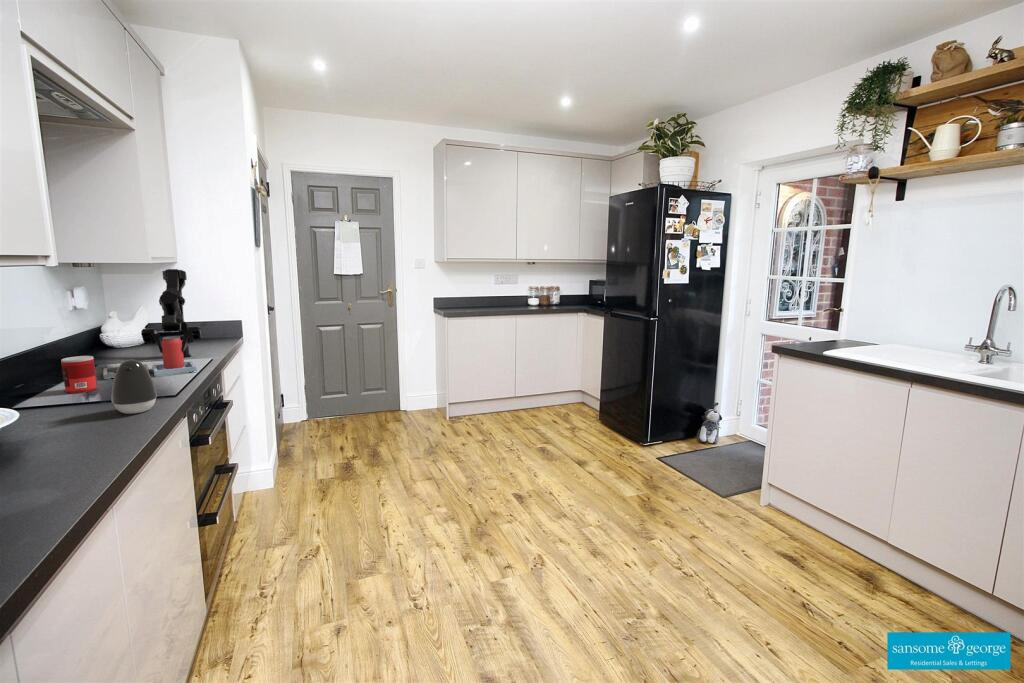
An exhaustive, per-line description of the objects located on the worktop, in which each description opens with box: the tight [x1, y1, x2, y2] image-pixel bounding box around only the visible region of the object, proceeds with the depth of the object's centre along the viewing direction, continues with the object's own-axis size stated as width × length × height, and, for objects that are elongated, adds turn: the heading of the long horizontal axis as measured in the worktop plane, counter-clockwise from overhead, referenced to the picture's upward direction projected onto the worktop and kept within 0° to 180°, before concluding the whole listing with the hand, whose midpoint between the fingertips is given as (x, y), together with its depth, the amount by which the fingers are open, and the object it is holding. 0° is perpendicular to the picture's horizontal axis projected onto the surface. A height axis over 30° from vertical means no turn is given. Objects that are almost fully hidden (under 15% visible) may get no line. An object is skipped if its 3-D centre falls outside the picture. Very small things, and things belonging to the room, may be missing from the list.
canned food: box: [60, 355, 98, 394], centre depth 157 cm, size 8×8×11 cm
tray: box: [151, 361, 198, 378], centre depth 185 cm, size 13×13×2 cm
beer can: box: [161, 336, 185, 369], centre depth 185 cm, size 7×7×12 cm
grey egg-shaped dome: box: [111, 359, 158, 415], centre depth 136 cm, size 10×10×15 cm
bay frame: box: [102, 363, 150, 380], centre depth 180 cm, size 13×13×2 cm
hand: (172, 351), depth 183 cm, fingers closed on beer can, 6 cm apart
